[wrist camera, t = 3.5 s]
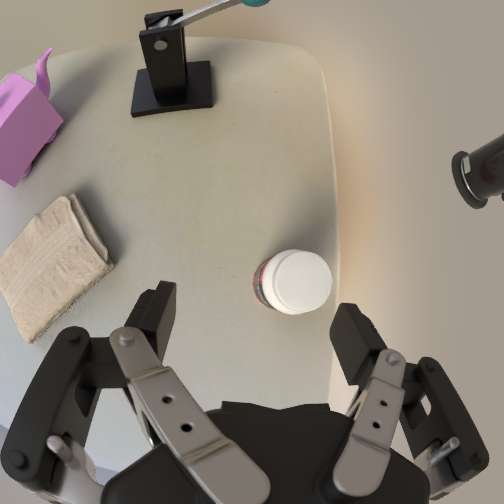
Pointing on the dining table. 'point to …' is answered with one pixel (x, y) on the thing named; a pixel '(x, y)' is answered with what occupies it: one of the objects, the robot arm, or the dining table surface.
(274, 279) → the pill bottle
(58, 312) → the washcloth
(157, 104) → the bracket
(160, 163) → the dining table surface
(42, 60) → the teapot
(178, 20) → the lever with teal knob
